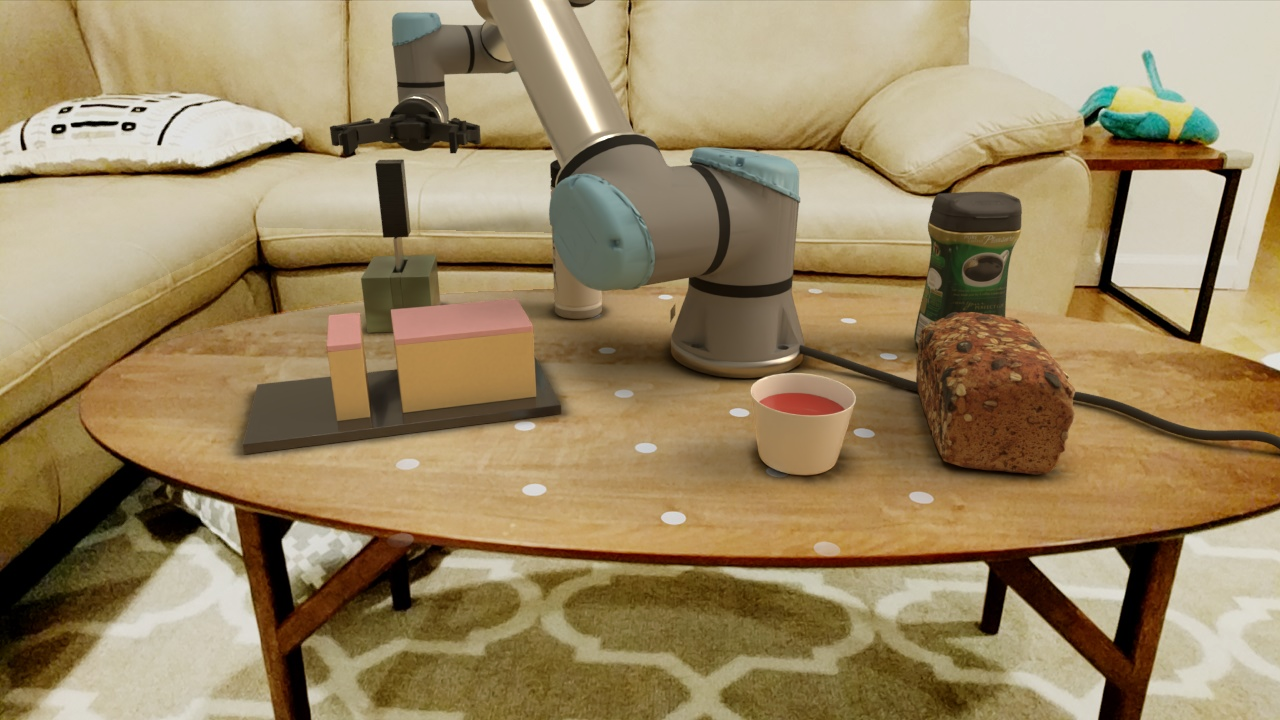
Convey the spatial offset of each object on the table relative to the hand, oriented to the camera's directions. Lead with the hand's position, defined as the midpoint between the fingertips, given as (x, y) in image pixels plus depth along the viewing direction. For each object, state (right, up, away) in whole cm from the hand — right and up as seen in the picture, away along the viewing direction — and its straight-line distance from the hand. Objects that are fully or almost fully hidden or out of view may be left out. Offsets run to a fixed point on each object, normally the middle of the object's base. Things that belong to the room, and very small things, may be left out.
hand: (399, 143), depth 113 cm
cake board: (+8, -33, -25) cm, 42 cm away
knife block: (+1, -23, -1) cm, 23 cm away
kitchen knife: (+1, -23, -1) cm, 23 cm away
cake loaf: (+14, -31, -24) cm, 41 cm away
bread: (+64, -35, -30) cm, 79 cm away
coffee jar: (+69, -27, -10) cm, 75 cm away
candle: (+45, -37, -35) cm, 69 cm away
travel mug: (+23, -22, +2) cm, 32 cm away
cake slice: (+3, -32, -27) cm, 42 cm away
